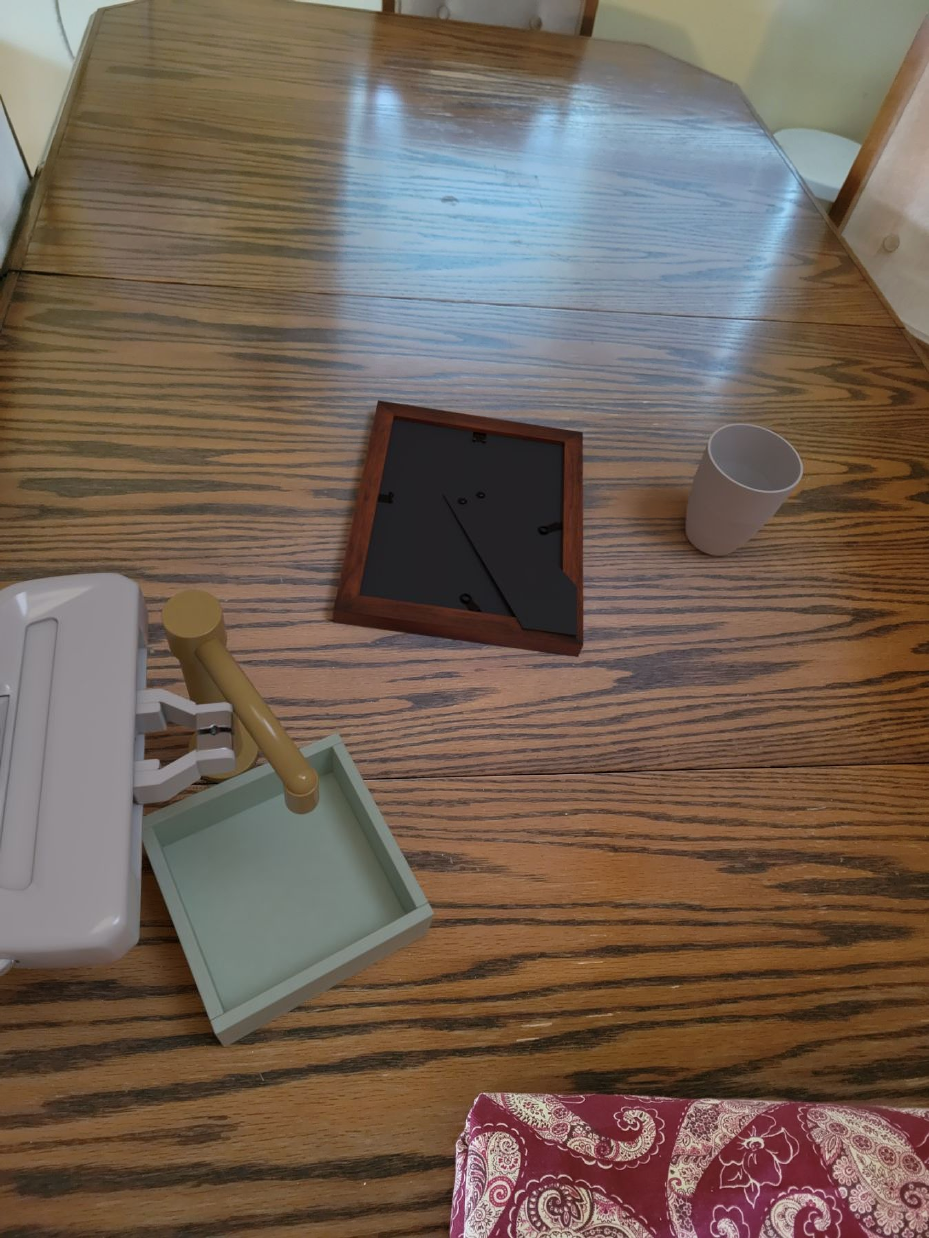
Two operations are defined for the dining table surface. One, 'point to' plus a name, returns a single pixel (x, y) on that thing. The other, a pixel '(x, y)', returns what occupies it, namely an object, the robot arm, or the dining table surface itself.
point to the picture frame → (467, 531)
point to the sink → (282, 889)
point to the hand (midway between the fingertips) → (234, 736)
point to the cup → (739, 486)
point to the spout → (237, 690)
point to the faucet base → (245, 747)
